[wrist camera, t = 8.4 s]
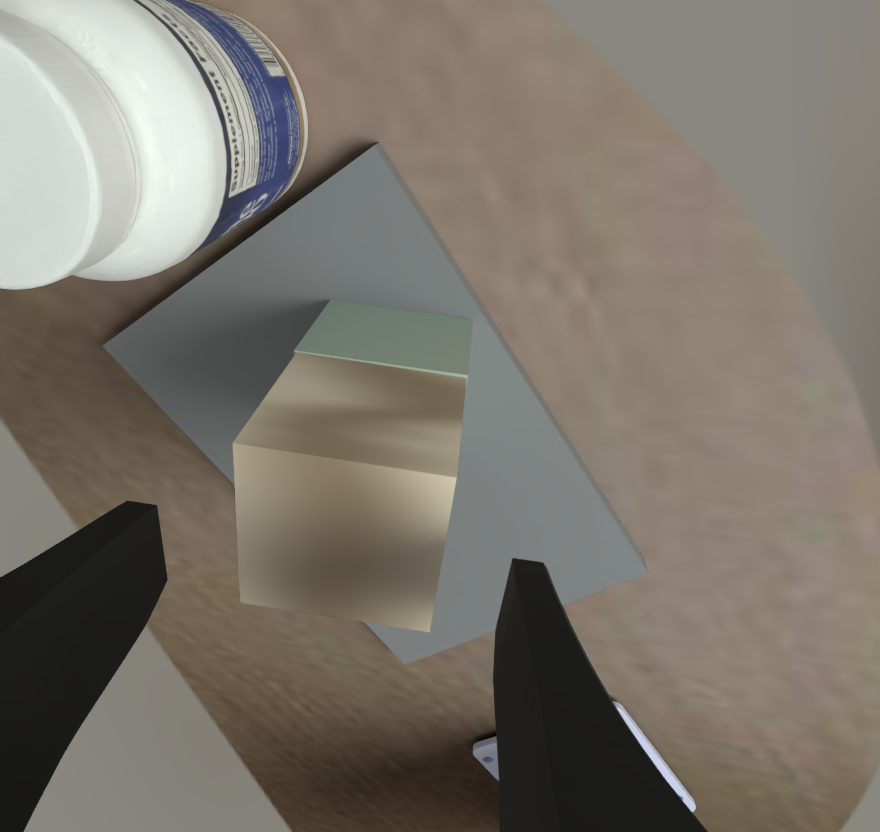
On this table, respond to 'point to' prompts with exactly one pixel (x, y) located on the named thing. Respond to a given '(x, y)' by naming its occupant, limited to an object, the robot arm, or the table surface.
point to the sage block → (391, 338)
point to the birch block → (348, 490)
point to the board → (485, 407)
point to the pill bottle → (135, 134)
